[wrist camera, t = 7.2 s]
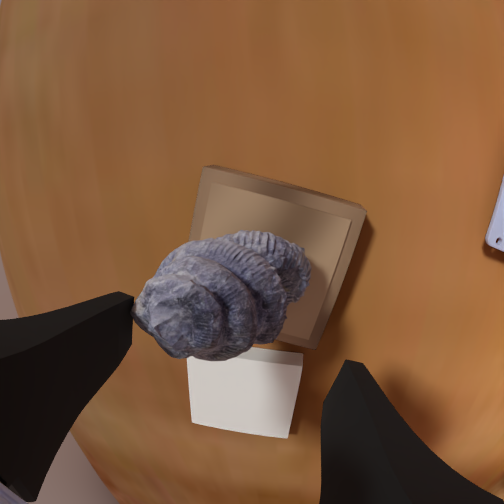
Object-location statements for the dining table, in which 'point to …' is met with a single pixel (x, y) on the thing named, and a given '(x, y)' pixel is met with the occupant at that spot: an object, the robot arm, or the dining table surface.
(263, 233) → the seashell
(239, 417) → the ceramic tile
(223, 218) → the walnut base
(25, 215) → the dining table surface
